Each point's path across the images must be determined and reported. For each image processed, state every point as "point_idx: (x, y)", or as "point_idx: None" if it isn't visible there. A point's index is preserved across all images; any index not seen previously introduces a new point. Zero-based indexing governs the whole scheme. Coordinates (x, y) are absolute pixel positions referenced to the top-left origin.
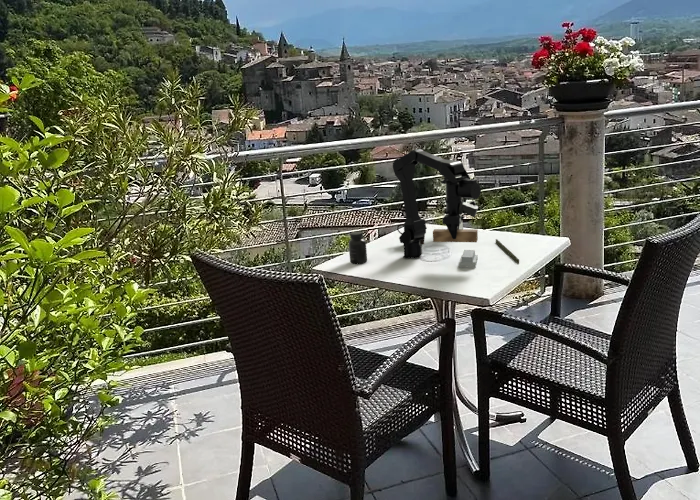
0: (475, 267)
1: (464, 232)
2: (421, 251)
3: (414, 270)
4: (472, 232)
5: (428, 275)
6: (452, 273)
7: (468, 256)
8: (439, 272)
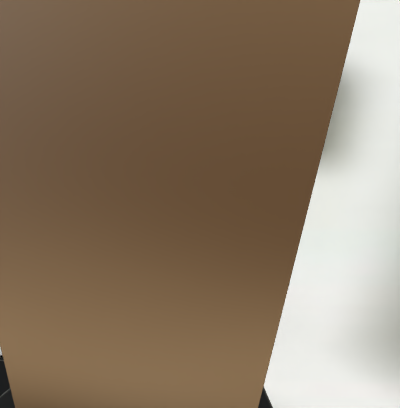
0: None
1: (269, 349)
2: (3, 378)
3: (279, 386)
4: (315, 133)
5: (394, 331)
6: (384, 200)
7: None
8: (341, 276)
